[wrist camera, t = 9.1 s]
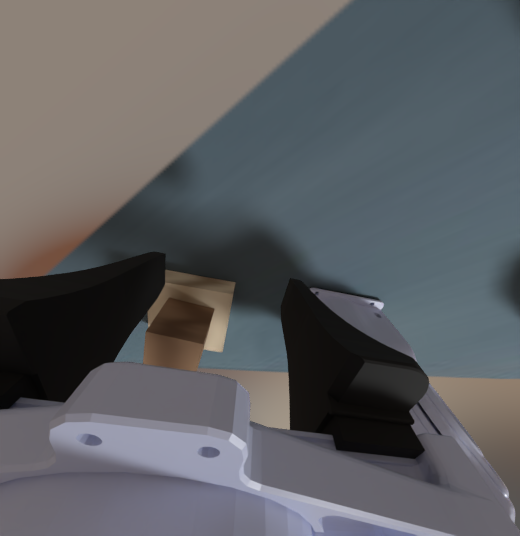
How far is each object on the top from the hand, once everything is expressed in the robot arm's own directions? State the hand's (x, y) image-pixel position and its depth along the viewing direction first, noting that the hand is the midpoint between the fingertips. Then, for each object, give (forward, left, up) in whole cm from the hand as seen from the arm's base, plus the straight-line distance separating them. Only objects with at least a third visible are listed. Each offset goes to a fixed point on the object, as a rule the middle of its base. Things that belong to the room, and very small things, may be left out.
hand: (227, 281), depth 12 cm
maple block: (+4, +11, -11) cm, 16 cm away
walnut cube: (+4, +11, -8) cm, 14 cm away
